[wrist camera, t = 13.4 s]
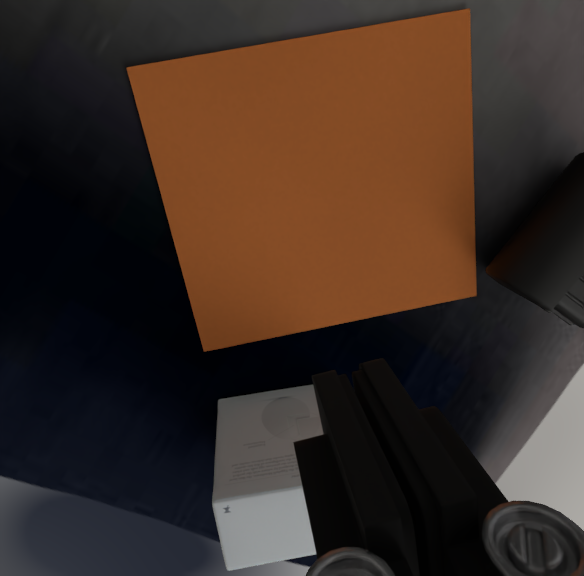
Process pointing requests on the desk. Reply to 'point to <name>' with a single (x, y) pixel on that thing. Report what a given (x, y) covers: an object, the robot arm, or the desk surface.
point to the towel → (317, 175)
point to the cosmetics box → (263, 476)
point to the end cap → (550, 250)
